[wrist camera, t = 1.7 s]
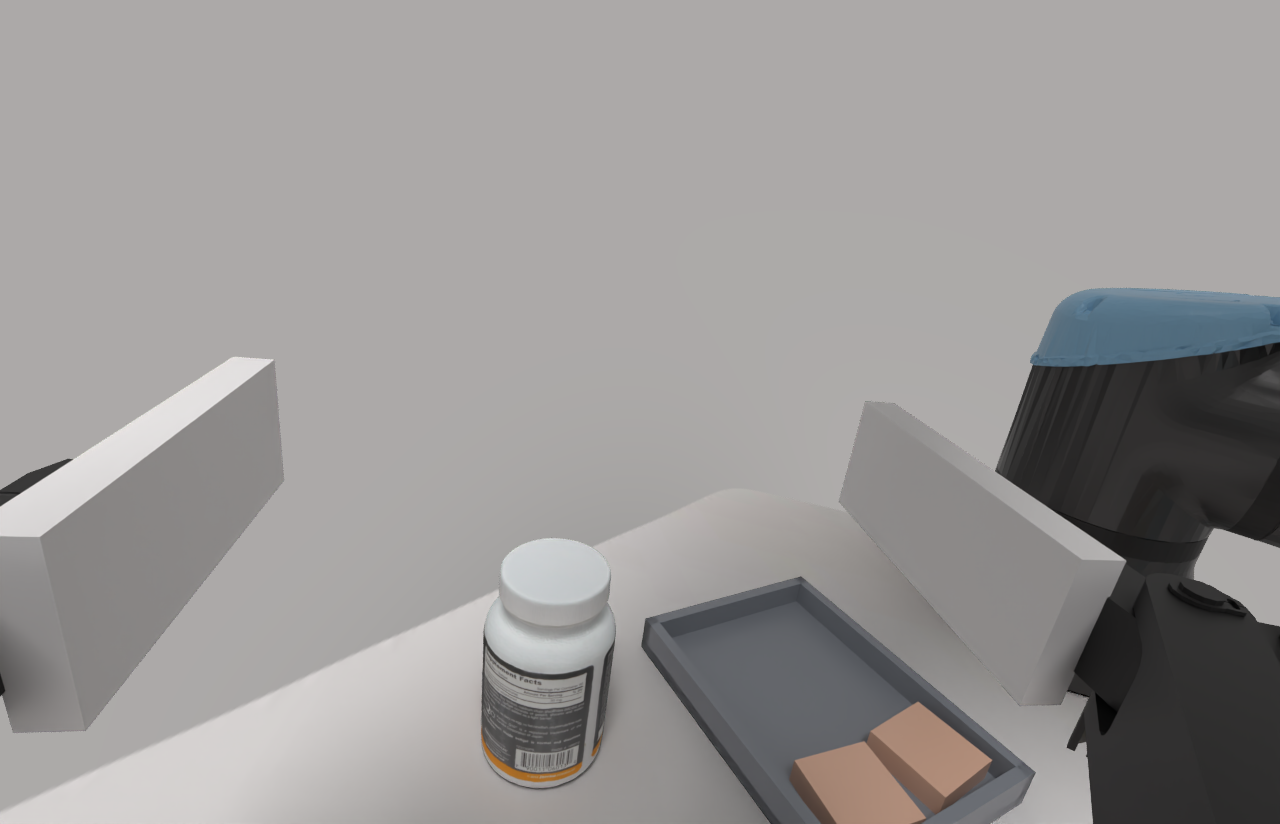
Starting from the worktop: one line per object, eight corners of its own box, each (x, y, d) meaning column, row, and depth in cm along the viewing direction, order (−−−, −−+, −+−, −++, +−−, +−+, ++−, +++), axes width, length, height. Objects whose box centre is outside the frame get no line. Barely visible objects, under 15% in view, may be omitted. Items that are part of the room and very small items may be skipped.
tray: (795, 601, 43) (801, 576, 42) (1021, 802, 30) (1035, 772, 30) (641, 646, 37) (645, 618, 37) (841, 920, 24) (854, 885, 24)
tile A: (911, 718, 34) (918, 701, 33) (984, 778, 31) (992, 760, 30) (864, 749, 31) (870, 731, 31) (937, 816, 28) (945, 797, 28)
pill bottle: (531, 678, 34) (542, 517, 30) (622, 729, 32) (647, 560, 28) (453, 753, 29) (457, 572, 26) (555, 820, 27) (574, 631, 23)
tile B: (858, 759, 31) (864, 741, 30) (918, 837, 27) (926, 818, 27) (789, 779, 29) (794, 760, 29) (843, 864, 26) (850, 844, 25)
